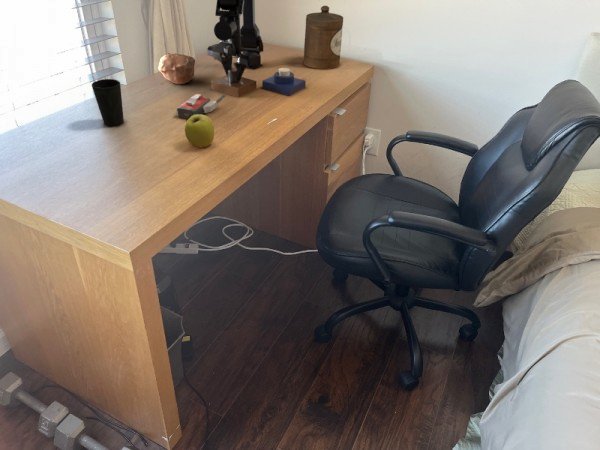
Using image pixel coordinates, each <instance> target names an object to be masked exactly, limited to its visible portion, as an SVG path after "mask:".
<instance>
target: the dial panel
mask: <svg viewBox="0 0 600 450" xmlns="http://www.w3.org/2000/svg"><path fill="white" fill-rule="evenodd" d="M211 90H212V91H216V92H219V93H222V94H226V95H229V96H233V97H236V98H240V97H242V96H244V95H247V94H249V93H252V92H254V91H256V90H257V80H254V79H251V78H247V77H243V76H242V77H241V80H240V81H239V82H237V83H231V82H229V81H228V77H227V75H226V74H225V75H223V76H220V77H218V78H216V79H213V80H211Z"/></svg>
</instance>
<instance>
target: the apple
mask: <svg viewBox="0 0 600 450" xmlns="http://www.w3.org/2000/svg"><path fill="white" fill-rule="evenodd" d="M184 135H185V137H186V140H187V141H188V142H189V144H190V145H191V146H195V147H197V148H206V147H208V146H210V145H211V144H212V143H213V141H214V139H215V126H214V123H213V121H212V120H211V119H210V117H208V116H207V115H204V114H201V115H193V116H191V117H190V118H189V119H188V118H187V120H186V122H185V125H184Z"/></svg>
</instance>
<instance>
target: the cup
mask: <svg viewBox="0 0 600 450" xmlns="http://www.w3.org/2000/svg"><path fill="white" fill-rule="evenodd" d="M91 88H92V91H93V94H94V97H95V100H96V104H97V106H98V109H99V113H100V115H101V119H102V121H103V124H104V126H105V127H108V128H116V127H120V126H122V125H124V123H125V121H124V119H125V118H124V110H123V109H124V107H123V99H122V98H123V97H122V88H121V82H120V81H119V80H117V79H114V78H104V79H98V80H96V81H93V82H92V83H91Z"/></svg>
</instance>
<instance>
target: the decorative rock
mask: <svg viewBox="0 0 600 450" xmlns="http://www.w3.org/2000/svg"><path fill="white" fill-rule="evenodd" d="M195 65H196V59H195V58H194V57H192V56H191V55H186V54H181V53H169V52H168V53H167V54H164V55H163V56H162V57H161V58H160V60H159V63H158V66H157V67H158V68H157V69H158V71H159V72H160V73H161V75H162V76H163V77H164V78H165V79H166V80H167V81H170V82H171V83H174V84H176V85H178V84H180V85H181V84H182V85H184V84H185V83H189V82H190V81H192V80H193V78H194V77H195Z"/></svg>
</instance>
